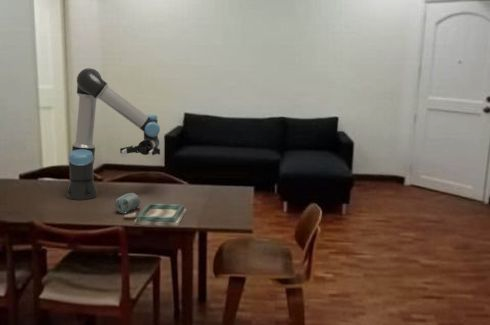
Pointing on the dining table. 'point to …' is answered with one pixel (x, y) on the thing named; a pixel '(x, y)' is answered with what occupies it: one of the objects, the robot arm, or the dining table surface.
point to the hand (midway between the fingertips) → (136, 154)
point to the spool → (127, 202)
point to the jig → (161, 215)
